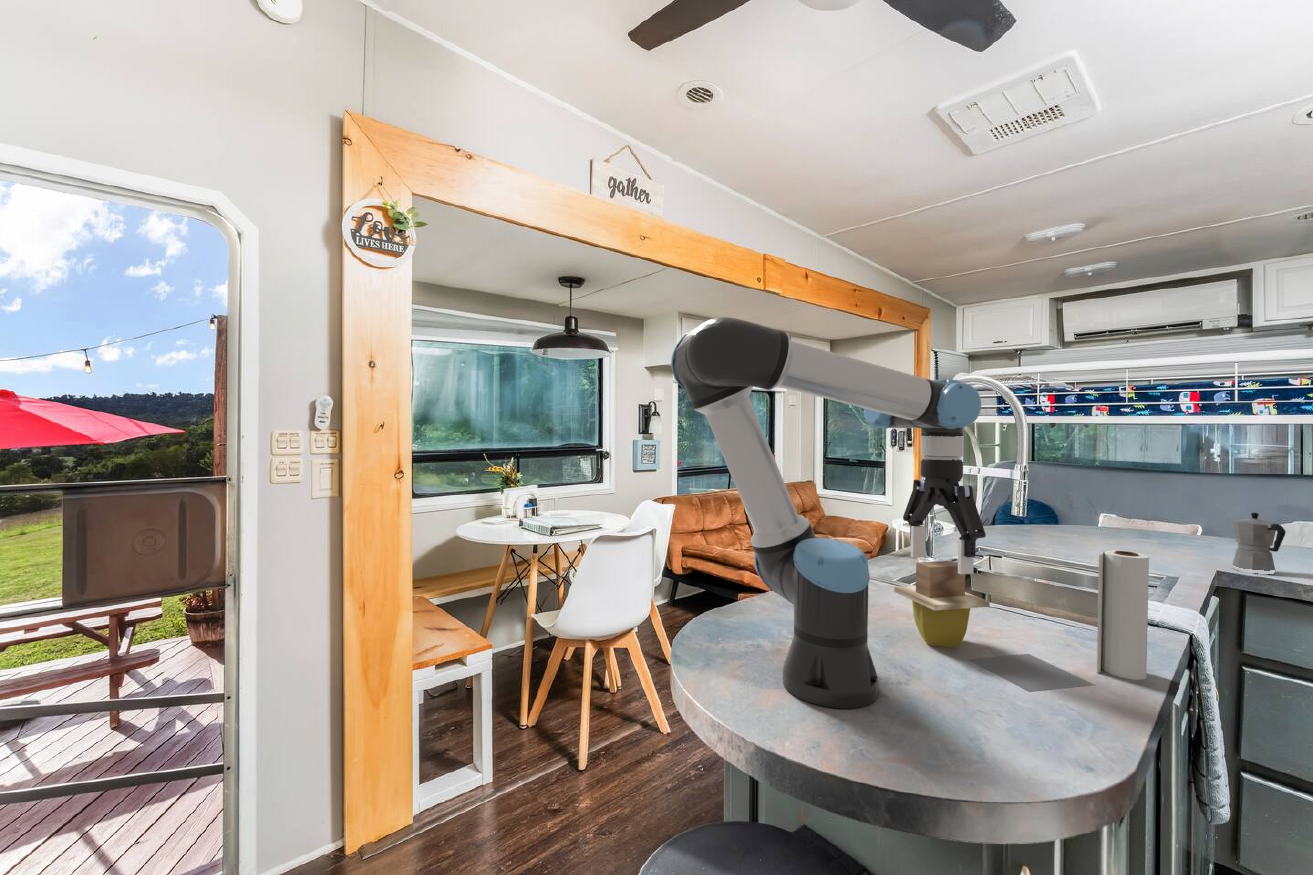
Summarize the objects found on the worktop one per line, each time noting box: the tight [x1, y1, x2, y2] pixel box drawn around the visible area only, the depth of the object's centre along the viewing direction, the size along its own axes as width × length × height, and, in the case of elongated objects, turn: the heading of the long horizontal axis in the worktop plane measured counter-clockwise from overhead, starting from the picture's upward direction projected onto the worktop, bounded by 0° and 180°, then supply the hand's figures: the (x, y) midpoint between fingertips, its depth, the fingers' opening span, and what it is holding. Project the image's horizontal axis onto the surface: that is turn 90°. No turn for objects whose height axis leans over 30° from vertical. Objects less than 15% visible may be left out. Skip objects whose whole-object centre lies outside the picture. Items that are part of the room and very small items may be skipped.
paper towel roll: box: [1096, 550, 1150, 681], centre depth 98 cm, size 7×6×21 cm
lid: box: [894, 560, 991, 610], centre depth 111 cm, size 12×12×7 cm
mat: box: [968, 653, 1096, 693], centre depth 98 cm, size 13×13×1 cm
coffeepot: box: [1231, 512, 1286, 571], centre depth 170 cm, size 15×9×18 cm, turn 175°
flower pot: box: [911, 600, 971, 649], centre depth 111 cm, size 9×9×9 cm
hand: (940, 565), depth 111 cm, fingers open, 13 cm apart
